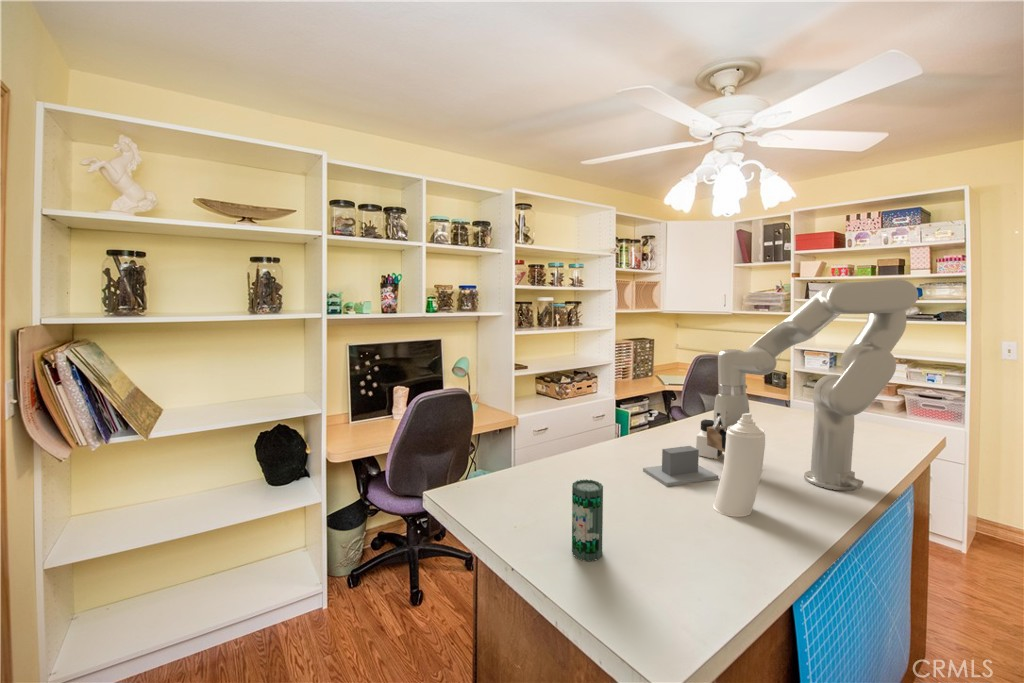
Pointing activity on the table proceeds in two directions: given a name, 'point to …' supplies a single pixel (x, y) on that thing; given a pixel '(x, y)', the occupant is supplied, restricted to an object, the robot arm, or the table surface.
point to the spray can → (741, 468)
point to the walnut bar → (714, 439)
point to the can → (587, 519)
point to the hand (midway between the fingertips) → (732, 447)
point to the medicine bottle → (702, 441)
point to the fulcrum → (680, 467)
